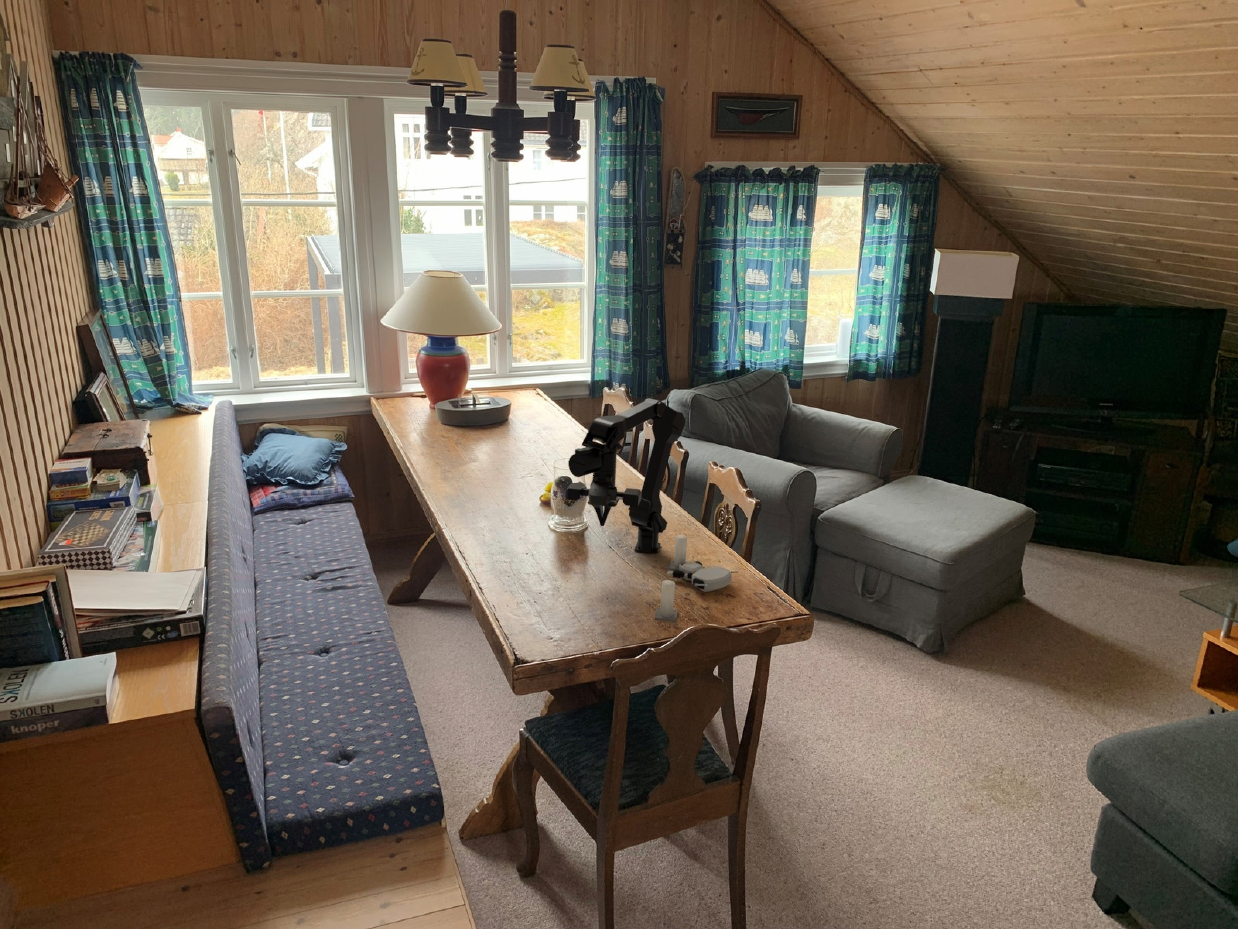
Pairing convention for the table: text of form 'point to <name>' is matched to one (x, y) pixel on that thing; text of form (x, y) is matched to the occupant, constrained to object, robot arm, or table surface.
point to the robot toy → (703, 575)
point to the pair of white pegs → (671, 583)
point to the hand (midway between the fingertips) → (602, 525)
